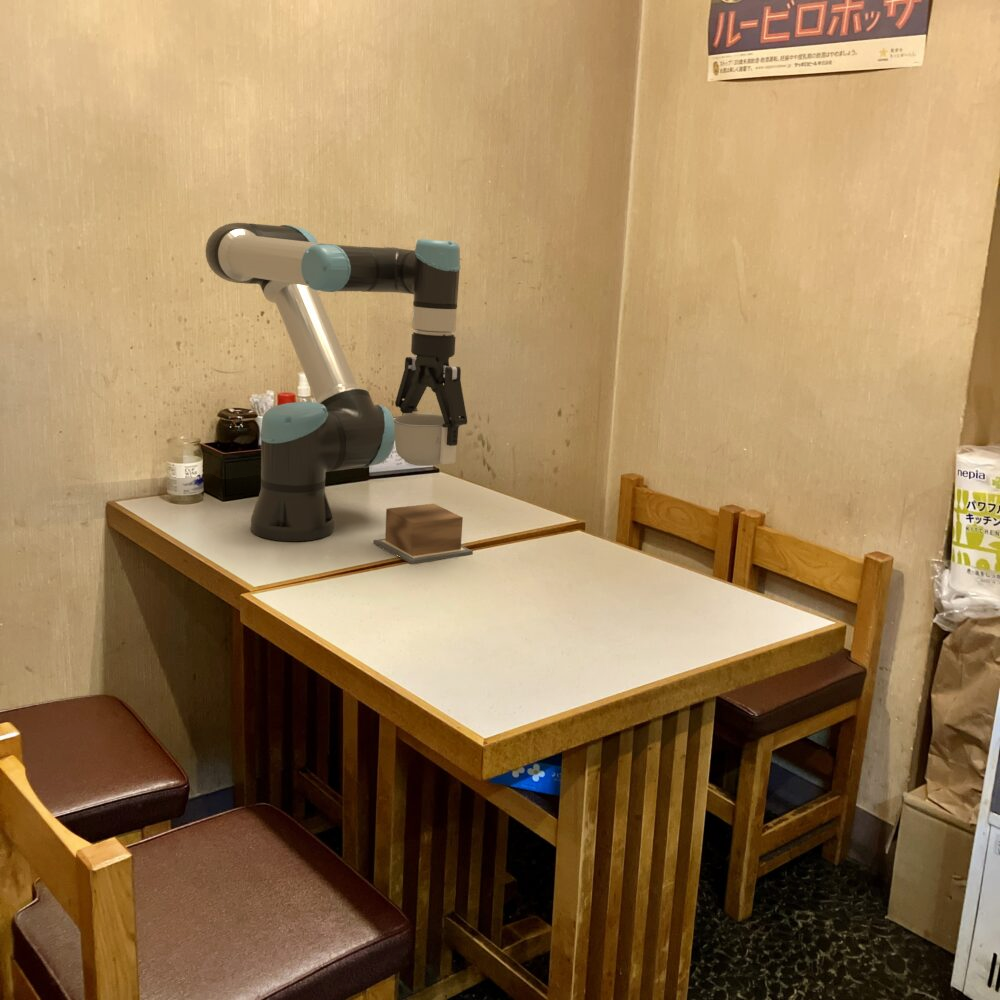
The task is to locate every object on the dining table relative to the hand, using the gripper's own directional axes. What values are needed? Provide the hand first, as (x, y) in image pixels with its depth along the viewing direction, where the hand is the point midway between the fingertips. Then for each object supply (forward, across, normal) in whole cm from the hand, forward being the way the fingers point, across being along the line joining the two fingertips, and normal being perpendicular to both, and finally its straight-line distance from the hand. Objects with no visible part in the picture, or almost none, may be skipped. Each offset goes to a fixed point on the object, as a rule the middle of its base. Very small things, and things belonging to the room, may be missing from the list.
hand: (427, 455), depth 177 cm
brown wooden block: (+17, 0, 0) cm, 17 cm away
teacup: (+1, +1, 0) cm, 1 cm away
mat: (+17, 0, 0) cm, 17 cm away
